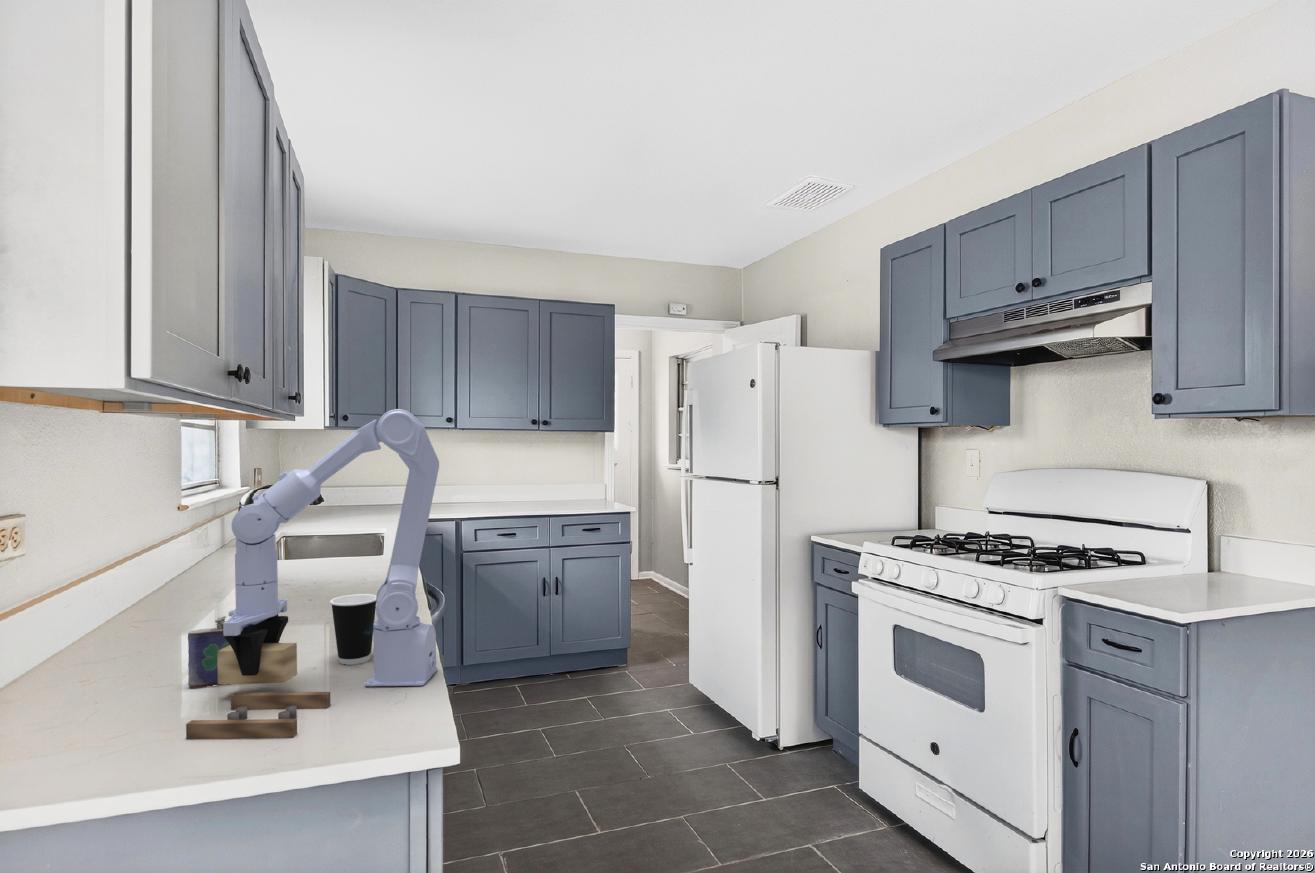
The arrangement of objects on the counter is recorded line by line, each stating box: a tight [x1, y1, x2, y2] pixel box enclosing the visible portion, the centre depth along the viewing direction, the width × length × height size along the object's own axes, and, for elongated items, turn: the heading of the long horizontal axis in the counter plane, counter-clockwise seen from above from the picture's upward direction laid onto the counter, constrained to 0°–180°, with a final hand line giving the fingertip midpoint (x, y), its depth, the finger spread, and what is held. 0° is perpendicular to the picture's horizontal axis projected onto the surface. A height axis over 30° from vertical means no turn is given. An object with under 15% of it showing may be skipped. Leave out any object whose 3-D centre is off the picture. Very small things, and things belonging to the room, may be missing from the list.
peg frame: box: [185, 691, 331, 740], centre depth 101 cm, size 14×11×2 cm
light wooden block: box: [217, 642, 298, 685], centre depth 111 cm, size 10×4×5 cm, turn 90°
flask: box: [187, 615, 231, 689], centre depth 117 cm, size 9×3×11 cm, turn 110°
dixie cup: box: [329, 593, 377, 666], centre depth 128 cm, size 8×8×11 cm
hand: (258, 669), depth 111 cm, fingers closed on light wooden block, 4 cm apart
